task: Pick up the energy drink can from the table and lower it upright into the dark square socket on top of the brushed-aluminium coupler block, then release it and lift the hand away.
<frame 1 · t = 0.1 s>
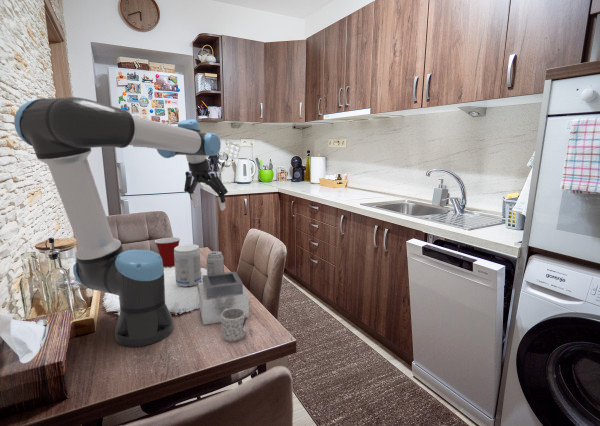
hand: (209, 207, 139), 28 cm above the table, tool tilted 20°, fingers open, 13 cm apart
energy drink can: (216, 292, 122), on the table
coupler block: (223, 310, 108), on the table
plastic cup: (169, 264, 150), on the table
mug: (231, 332, 96), on the table
supplement tub: (188, 283, 130), on the table
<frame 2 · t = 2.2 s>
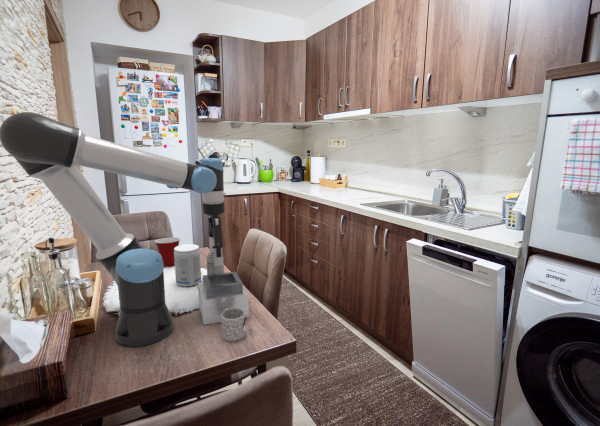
hand: (216, 259, 120), 13 cm above the table, tool pointing down, fingers open, 13 cm apart
nothing on the table moved.
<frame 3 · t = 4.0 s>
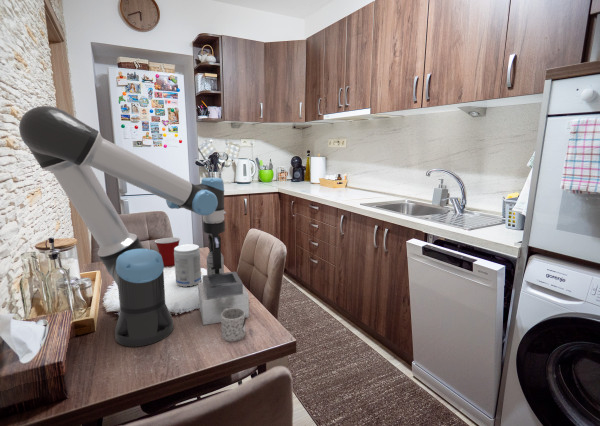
hand: (215, 281, 122), 4 cm above the table, tool pointing down, fingers closed on energy drink can, 6 cm apart
energy drink can: (216, 292, 122), on the table, touching gripper
everything else where it was.
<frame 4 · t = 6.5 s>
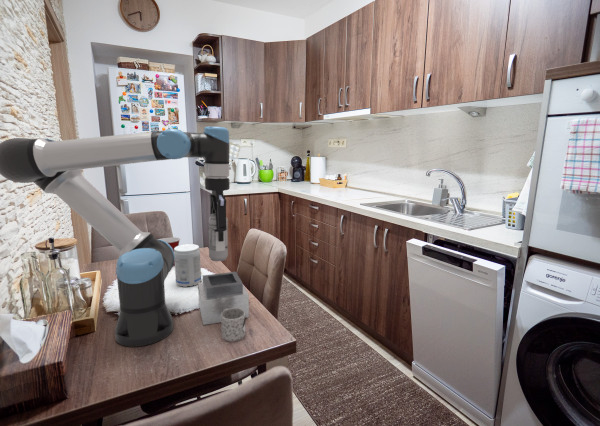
hand: (218, 247, 108), 21 cm above the table, tool pointing down, fingers closed on energy drink can, 6 cm apart
energy drink can: (218, 259, 108), point 16 cm above the table, touching gripper
everything else where it was.
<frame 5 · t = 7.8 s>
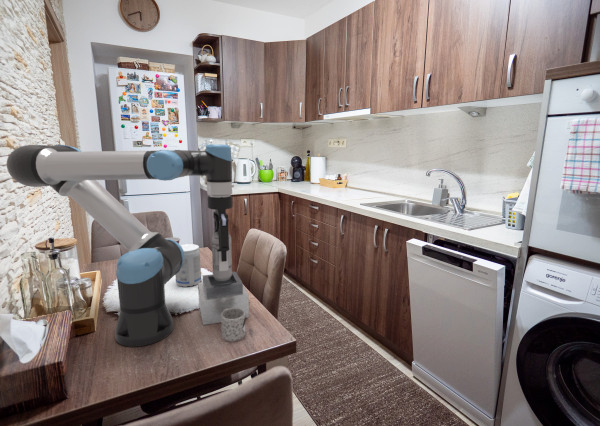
hand: (222, 266, 105), 15 cm above the table, tool pointing down, fingers closed on energy drink can, 6 cm apart
energy drink can: (222, 278, 106), point 11 cm above the table, touching gripper
everything else where it was.
when the fingers open (13 cm above the table, at t = 8.9 s): energy drink can drops 1 cm, resting on coupler block.
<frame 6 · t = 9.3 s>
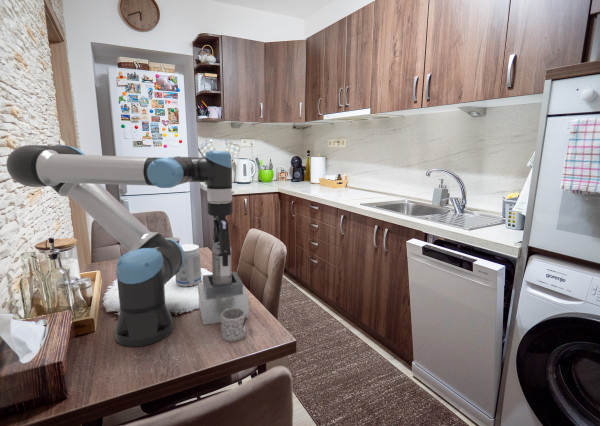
hand: (221, 268, 105), 15 cm above the table, tool pointing down, fingers open, 11 cm apart
energy drink can: (222, 288, 106), point 8 cm above the table, touching coupler block
everything else where it was.
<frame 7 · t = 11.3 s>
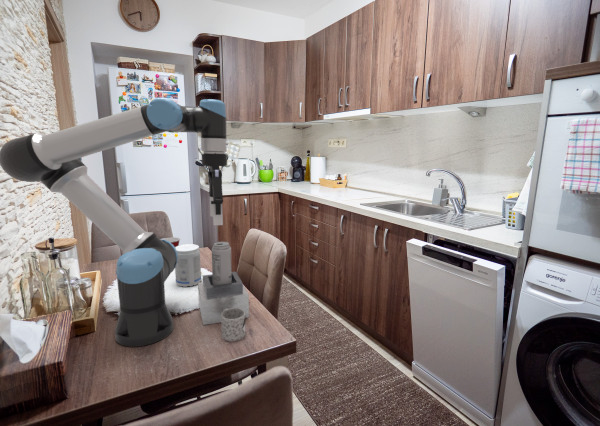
hand: (216, 220, 105), 30 cm above the table, tool pointing down, fingers open, 13 cm apart
nothing on the table moved.
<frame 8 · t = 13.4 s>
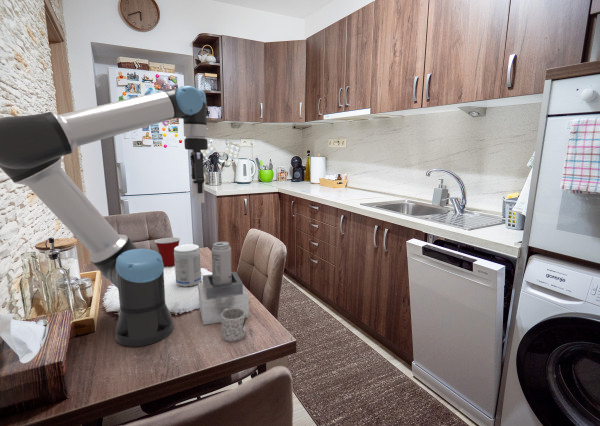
hand: (198, 200, 115), 35 cm above the table, tool pointing down, fingers open, 13 cm apart
nothing on the table moved.
at the end: energy drink can 0.0 cm off-centre on the coupler block, point 7.8 cm above the coupler block's base; energy drink can tilted 0°; the gripper is holding nothing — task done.
